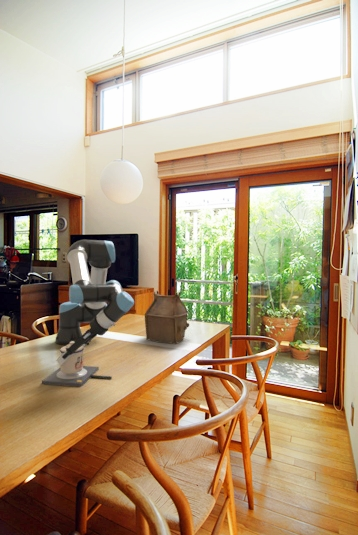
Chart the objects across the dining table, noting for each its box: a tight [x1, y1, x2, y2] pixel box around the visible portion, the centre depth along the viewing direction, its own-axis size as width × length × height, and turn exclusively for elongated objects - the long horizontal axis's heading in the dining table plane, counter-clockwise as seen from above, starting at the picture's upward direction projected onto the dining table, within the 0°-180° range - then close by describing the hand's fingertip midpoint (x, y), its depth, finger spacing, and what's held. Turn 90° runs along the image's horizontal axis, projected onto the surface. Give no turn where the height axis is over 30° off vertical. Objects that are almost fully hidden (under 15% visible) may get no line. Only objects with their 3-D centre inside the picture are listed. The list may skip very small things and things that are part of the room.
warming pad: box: [41, 365, 113, 387], centre depth 123 cm, size 25×18×2 cm
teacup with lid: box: [59, 341, 85, 374], centre depth 123 cm, size 12×9×12 cm
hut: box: [144, 290, 190, 345], centre depth 185 cm, size 23×27×30 cm
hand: (66, 357), depth 124 cm, fingers closed on teacup with lid, 12 cm apart
